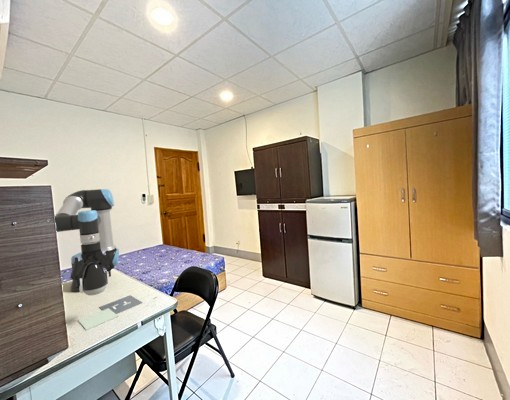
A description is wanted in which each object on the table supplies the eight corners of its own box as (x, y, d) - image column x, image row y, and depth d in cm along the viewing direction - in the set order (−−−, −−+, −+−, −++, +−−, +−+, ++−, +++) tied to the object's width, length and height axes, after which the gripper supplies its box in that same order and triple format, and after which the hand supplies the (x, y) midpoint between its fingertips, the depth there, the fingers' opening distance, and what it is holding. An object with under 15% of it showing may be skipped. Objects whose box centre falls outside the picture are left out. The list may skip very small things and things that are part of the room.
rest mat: (78, 320, 110) (78, 320, 110) (108, 308, 120) (108, 308, 120) (86, 330, 102) (86, 329, 102) (118, 316, 112) (118, 315, 112)
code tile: (99, 307, 122) (98, 307, 122) (130, 295, 135) (130, 295, 135) (109, 316, 112) (109, 316, 112) (142, 302, 125) (142, 302, 125)
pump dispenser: (113, 289, 114) (110, 259, 113) (92, 299, 104) (89, 266, 103) (98, 287, 117) (95, 258, 116) (77, 296, 107) (73, 265, 106)
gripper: (61, 249, 98) (67, 299, 99) (119, 238, 115) (123, 281, 117) (58, 247, 103) (63, 295, 104) (113, 237, 120) (117, 278, 121)
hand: (95, 287), depth 110 cm, fingers closed on pump dispenser, 10 cm apart
